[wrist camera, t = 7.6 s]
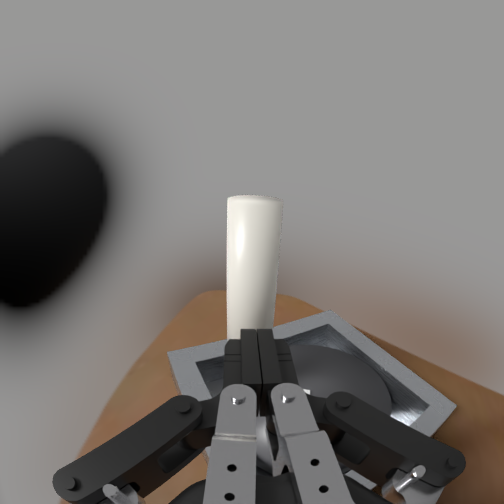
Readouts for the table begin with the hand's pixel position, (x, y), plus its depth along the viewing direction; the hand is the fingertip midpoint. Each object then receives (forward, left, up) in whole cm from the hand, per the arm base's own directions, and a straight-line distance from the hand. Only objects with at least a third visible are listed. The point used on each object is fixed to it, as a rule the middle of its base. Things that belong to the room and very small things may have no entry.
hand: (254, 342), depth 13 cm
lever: (-6, -1, -11) cm, 12 cm away
